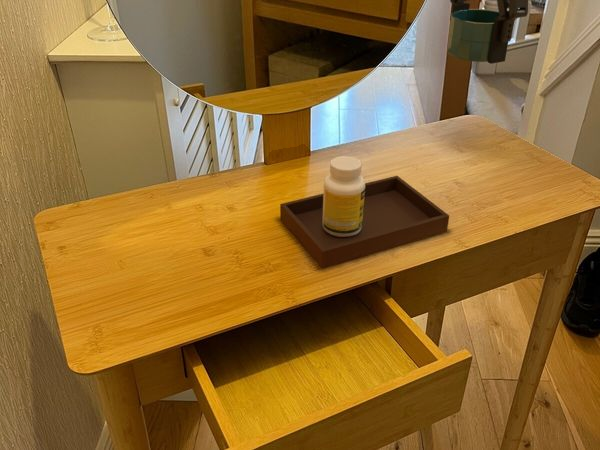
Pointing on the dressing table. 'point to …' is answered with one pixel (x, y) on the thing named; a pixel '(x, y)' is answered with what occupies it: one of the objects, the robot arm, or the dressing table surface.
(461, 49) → the cup
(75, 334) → the dressing table surface
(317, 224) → the tray
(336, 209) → the supplement bottle
